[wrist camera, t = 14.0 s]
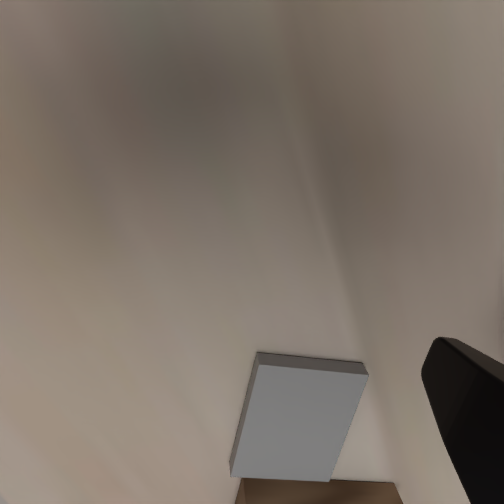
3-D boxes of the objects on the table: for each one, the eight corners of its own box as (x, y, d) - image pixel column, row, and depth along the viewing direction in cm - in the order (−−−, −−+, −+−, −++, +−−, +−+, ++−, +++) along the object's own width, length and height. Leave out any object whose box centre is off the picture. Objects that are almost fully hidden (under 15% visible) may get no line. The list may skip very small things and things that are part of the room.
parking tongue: (362, 363, 25) (368, 375, 24) (324, 467, 28) (329, 481, 27) (256, 352, 24) (259, 364, 23) (229, 462, 27) (230, 476, 26)
